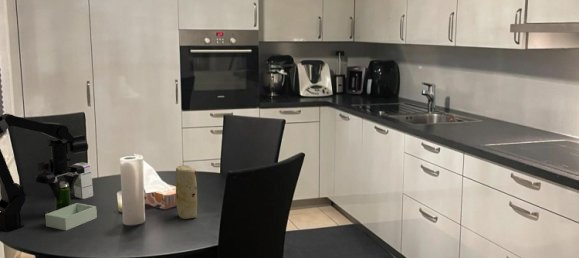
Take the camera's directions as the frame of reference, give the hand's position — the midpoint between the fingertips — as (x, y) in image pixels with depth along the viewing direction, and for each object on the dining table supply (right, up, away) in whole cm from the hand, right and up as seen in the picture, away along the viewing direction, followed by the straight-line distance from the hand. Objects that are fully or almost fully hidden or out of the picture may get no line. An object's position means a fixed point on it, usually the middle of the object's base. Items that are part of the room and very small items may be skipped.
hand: (62, 195), depth 214 cm
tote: (+6, -9, -6) cm, 13 cm away
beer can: (0, -7, +1) cm, 7 cm away
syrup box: (-1, -4, +25) cm, 25 cm away
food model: (+48, -8, 0) cm, 49 cm away
